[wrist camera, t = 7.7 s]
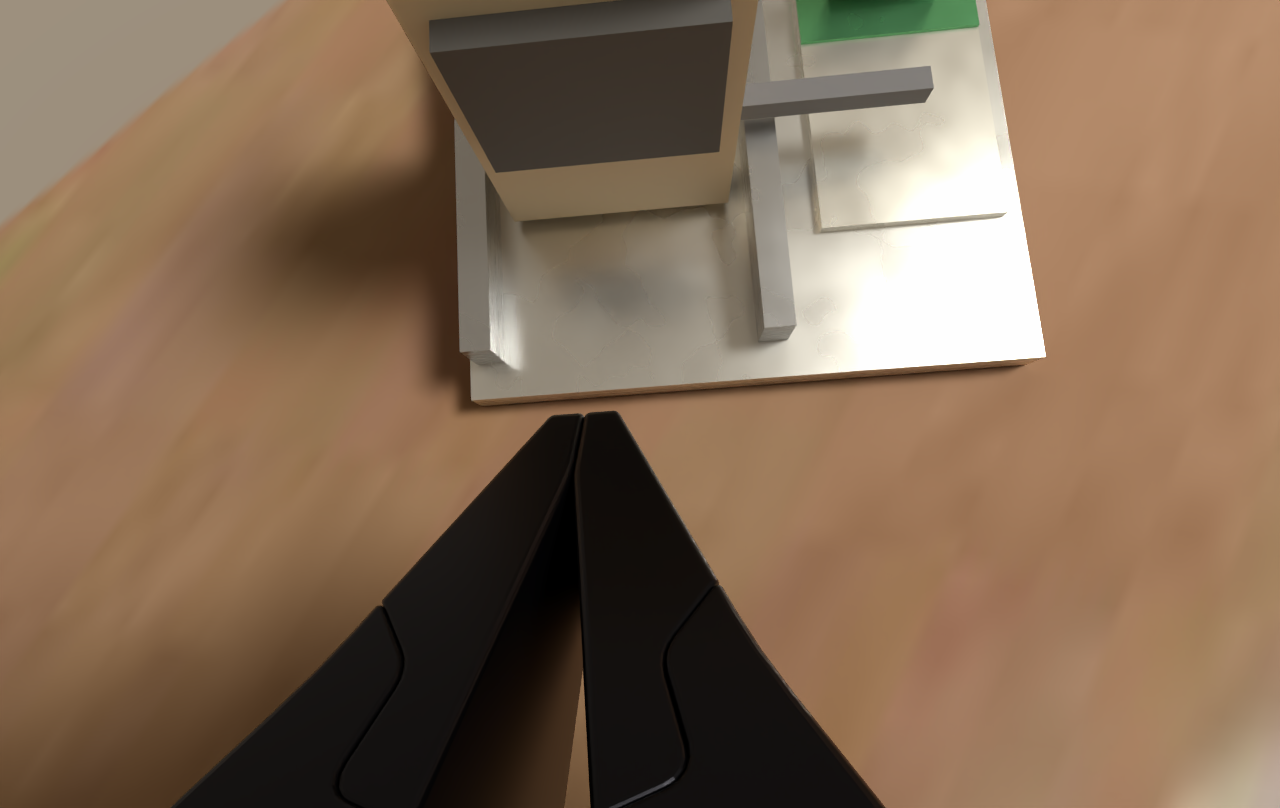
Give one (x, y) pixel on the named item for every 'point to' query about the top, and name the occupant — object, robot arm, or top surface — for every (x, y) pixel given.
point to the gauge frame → (777, 237)
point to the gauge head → (615, 96)
